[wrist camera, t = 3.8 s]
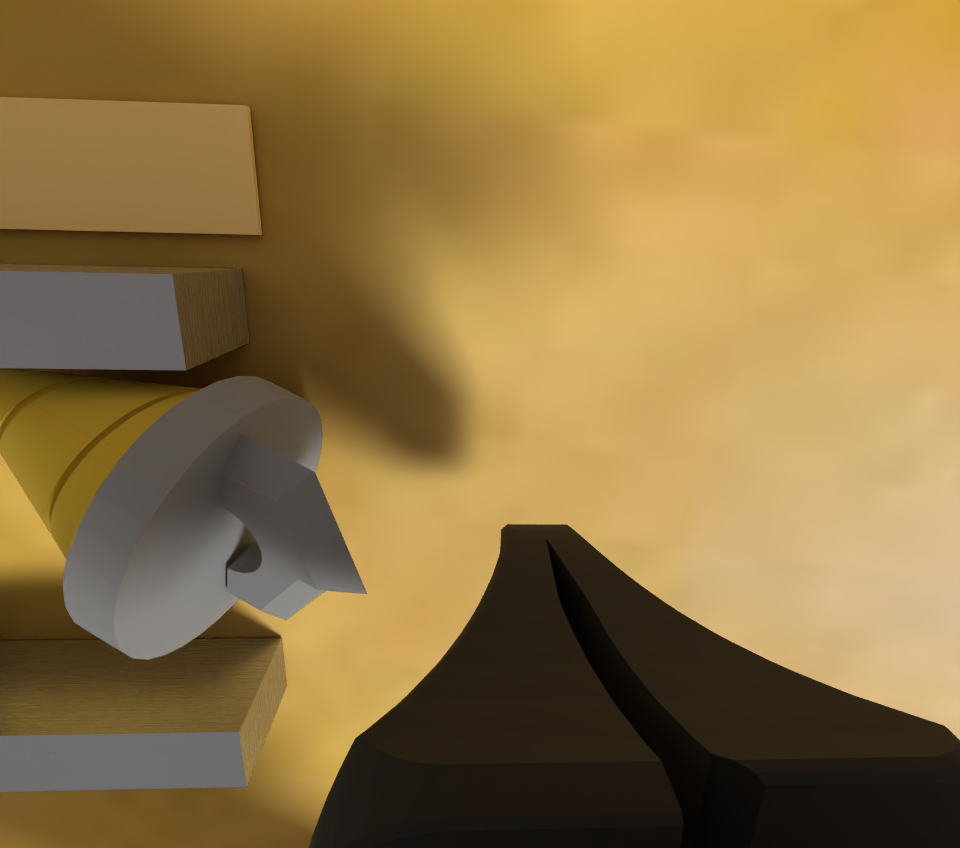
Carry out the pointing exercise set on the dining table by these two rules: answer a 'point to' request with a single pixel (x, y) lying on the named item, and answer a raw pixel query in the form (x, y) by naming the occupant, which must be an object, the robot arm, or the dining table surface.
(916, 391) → the dining table surface
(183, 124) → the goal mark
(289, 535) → the grooved yellow cone
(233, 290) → the bracket
